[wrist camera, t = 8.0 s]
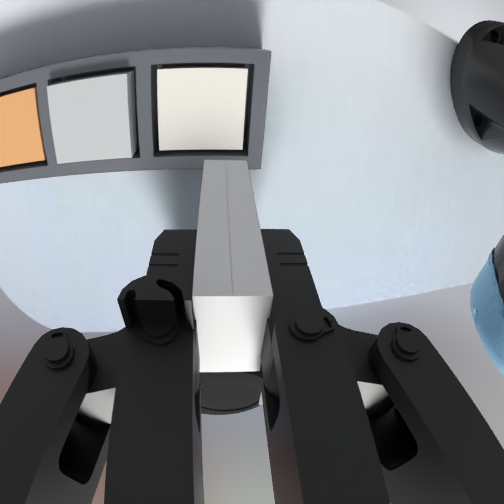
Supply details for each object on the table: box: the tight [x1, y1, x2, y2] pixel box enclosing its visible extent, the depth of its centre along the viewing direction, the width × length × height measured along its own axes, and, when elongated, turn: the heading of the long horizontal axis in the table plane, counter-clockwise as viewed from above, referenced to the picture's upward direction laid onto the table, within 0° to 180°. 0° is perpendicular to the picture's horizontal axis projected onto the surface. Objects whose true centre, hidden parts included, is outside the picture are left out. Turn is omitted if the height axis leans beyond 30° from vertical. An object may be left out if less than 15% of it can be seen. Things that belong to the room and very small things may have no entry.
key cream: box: [157, 65, 248, 150], centre depth 21 cm, size 6×6×2 cm
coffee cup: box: [200, 364, 263, 415], centre depth 29 cm, size 9×9×15 cm
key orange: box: [0, 85, 47, 167], centre depth 19 cm, size 6×6×2 cm
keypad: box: [0, 47, 271, 184], centre depth 21 cm, size 24×9×4 cm, turn 86°
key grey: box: [47, 70, 138, 164], centre depth 19 cm, size 6×6×2 cm
